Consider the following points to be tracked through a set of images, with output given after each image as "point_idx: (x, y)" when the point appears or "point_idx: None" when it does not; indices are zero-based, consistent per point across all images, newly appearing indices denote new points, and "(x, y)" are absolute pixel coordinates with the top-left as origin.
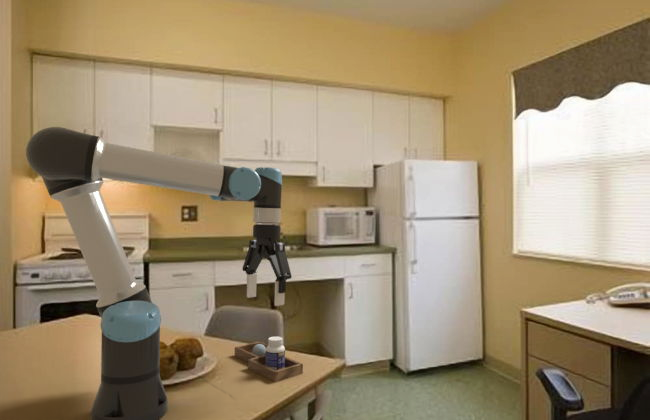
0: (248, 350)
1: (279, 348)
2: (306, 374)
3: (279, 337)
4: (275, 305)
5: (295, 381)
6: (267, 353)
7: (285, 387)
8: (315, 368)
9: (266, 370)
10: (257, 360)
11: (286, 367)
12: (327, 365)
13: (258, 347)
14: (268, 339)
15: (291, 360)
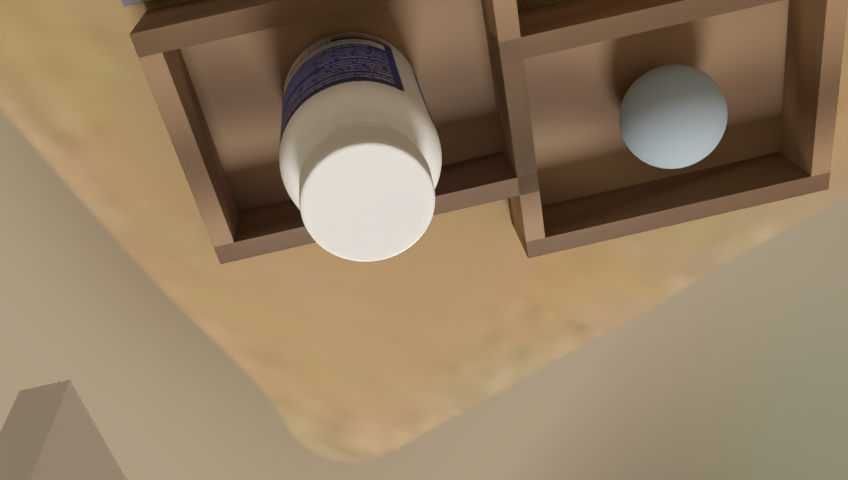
0: (794, 70)
1: (294, 181)
2: None
3: (379, 244)
4: (35, 390)
5: (142, 148)
6: (341, 78)
7: (61, 49)
8: (301, 327)
9: (248, 3)
10: (493, 26)
11: None
12: (314, 395)
13: (661, 112)
14: (381, 141)
15: None
